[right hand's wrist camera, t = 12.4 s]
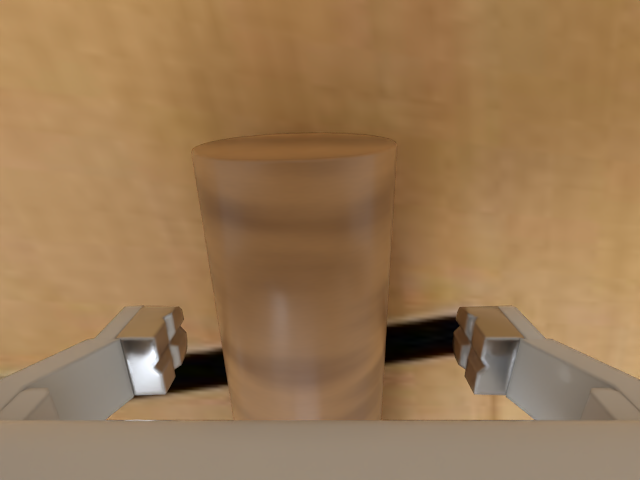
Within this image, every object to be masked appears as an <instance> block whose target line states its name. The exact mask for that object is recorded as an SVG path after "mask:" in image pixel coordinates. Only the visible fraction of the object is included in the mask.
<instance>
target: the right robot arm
mask: <svg viewBox="0 0 640 480" xmlns="http://www.w3.org/2000/svg"><path fill="white" fill-rule="evenodd" d="M183 320H184V317H183V312H182V309H181V308H180V307H178V306H126V307H124V308H123V309H122V310H121V311H120V312H119V313H118V314H117V315H116V316H115V317H114V319H113V320H112V321H111V322H110V323H109V324H108V325H107V326H106V327H105V328H104V329H103V330H102V331H101V332H100V333H99V334H98V335H97V336H96V337H95V338H94V339H87V340H85V341H83V342H81V343H78V344H76V345H74V346H72V347H70V348H68V349H65V350H63V351H61V352H59V353H57V354H55V355H52V356H50V357H48V358H46V359H44V360H42V361H39V362H37V363H35V364H33V365H31V366H29V367H26V368H24V369H22V370H20V371H18V372H16V373H13V374H11V375H9V376H7V377H5V378H3V379H0V480H640V380H639V379H637V378H635V377H633V376H631V375H629V374H626V373H624V372H622V371H620V370H618V369H616V368H613V367H611V366H609V365H607V364H605V363H603V362H600V361H598V360H596V359H594V358H592V357H590V356H588V355H585V354H583V353H581V352H579V351H577V350H575V349H572V348H570V347H568V346H566V345H564V344H562V343H559V342H557V341H555V340H553V339H546V338H545V337H544V336H543V335H542V334H541V333H540V332H539V331H538V330H537V329H536V328H535V327H534V326H533V325H532V324H531V323H530V322H529V321H528V319H527V318H526V317H525V316H524V315H523V314H522V313H521V312H520V311H519V310H518V309H517V308H516V307H514V306H483V307H459V310H458V312H457V317H456V320H457V322H458V324H459V325H460V326H459V327H458V329H457V330H456V331H455V332H454V335H453V352H454V355H455V358H456V360H457V362H458V364H459V365H460V366H461V367H463V368H464V369H466V371H465V378H466V380H467V382H468V384H469V385H470V387H471V389H472V391H473V393H474V394H482V395H506V397H507V398H508V399H510V400H511V401H512V402H513V403H515V404H516V405H517V406H518V407H520V408H521V409H522V410H523V411H525V412H526V413H527V414H528V415H530V416H531V417H532V418H533V419H534V420H106V419H107V418H108V417H109V416H111V415H112V414H113V413H114V412H116V411H117V410H118V409H119V408H121V407H122V406H123V405H124V404H126V403H127V402H128V401H129V400H131V399H132V398H133V397H134V395H157V394H166V393H167V391H168V389H169V387H170V385H171V384H172V382H173V380H174V378H175V371H174V369H176V368H177V367H179V366H180V365H181V364H182V362H183V360H184V358H185V355H186V351H187V335H186V332H185V331H184V330H183V329H182V327H181V326H180V325H181V324H182V322H183Z"/></svg>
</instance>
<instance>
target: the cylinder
mask: <svg viewBox="0 0 640 480" xmlns="http://www.w3.org/2000/svg"><path fill="white" fill-rule="evenodd" d="M396 156H397V144H396V142H394V141H393V140H390V139H388V138H384V137H378V136H371V135H362V134H347V133H288V134H269V135H256V136H245V137H237V138H229V139H223V140H217V141H212V142H208V143H204V144H201V145H199V146H196V147H195V148H193V150H192V159H193V165H194V171H195V178H196V184H197V190H198V197H199V203H200V209H201V216H202V222H203V228H204V235H205V241H206V247H207V254H208V260H209V266H210V273H211V279H212V285H213V292H214V298H215V304H216V311H217V317H218V323H219V330H220V336H221V342H222V349H223V355H224V361H225V368H226V374H227V380H228V387H229V393H230V399H231V406H232V412H233V418H234V420H381V414H382V397H383V380H384V363H385V346H386V328H387V311H388V294H389V277H390V260H391V242H392V225H393V208H394V191H395V174H396Z"/></svg>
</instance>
